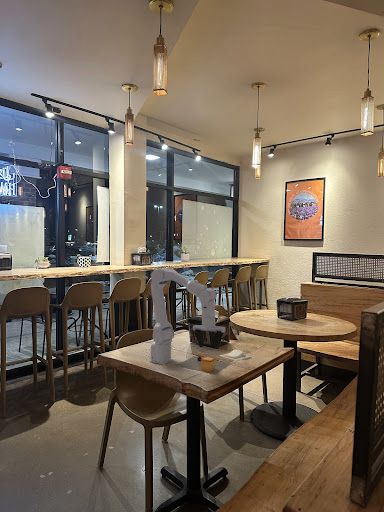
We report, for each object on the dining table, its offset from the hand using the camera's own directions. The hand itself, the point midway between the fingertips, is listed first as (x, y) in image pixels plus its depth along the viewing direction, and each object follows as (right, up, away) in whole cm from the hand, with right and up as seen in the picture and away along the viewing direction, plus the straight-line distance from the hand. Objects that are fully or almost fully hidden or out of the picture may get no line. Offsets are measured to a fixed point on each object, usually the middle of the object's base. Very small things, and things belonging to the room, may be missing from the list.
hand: (209, 347), depth 150 cm
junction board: (-2, -10, +6) cm, 12 cm away
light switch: (+14, -11, +20) cm, 27 cm away
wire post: (-4, -10, +12) cm, 16 cm away
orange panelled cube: (-1, -9, +1) cm, 9 cm away
